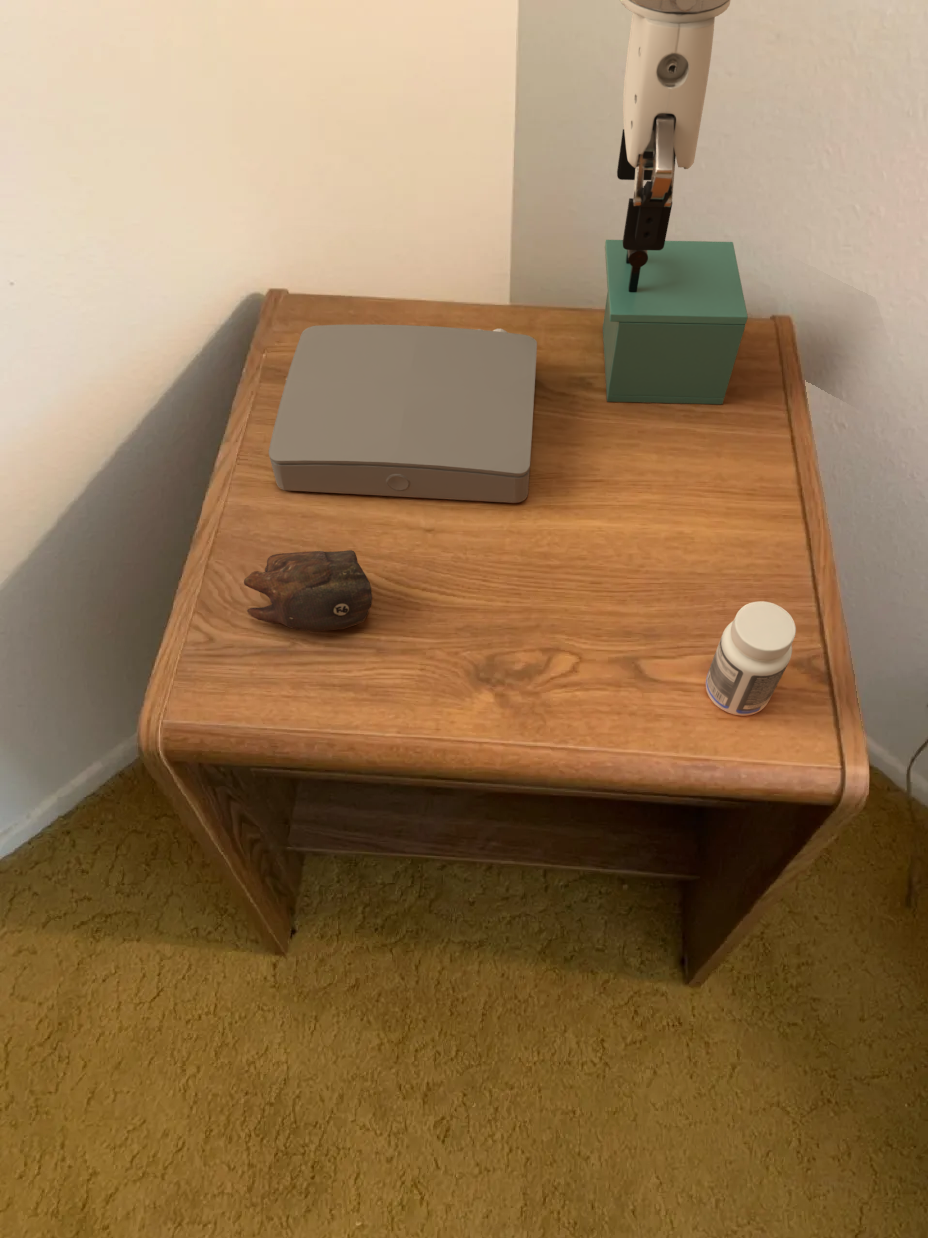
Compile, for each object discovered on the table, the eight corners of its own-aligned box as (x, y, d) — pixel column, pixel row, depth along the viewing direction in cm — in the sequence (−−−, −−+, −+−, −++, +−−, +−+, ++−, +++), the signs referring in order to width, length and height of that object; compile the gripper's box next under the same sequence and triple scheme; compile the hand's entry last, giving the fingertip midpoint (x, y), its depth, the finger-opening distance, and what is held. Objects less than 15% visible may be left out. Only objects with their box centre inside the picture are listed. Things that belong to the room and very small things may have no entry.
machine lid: (609, 321, 78) (616, 270, 74) (604, 246, 84) (611, 196, 80) (745, 324, 77) (760, 273, 73) (731, 249, 83) (744, 198, 79)
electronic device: (313, 346, 90) (305, 303, 86) (536, 357, 89) (538, 313, 85) (274, 493, 79) (263, 451, 75) (527, 507, 78) (530, 465, 74)
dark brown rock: (225, 587, 67) (358, 567, 66) (246, 548, 73) (370, 529, 71) (249, 656, 70) (378, 638, 69) (268, 614, 76) (387, 596, 74)
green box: (606, 401, 85) (618, 322, 78) (602, 327, 91) (613, 247, 84) (722, 404, 85) (745, 325, 77) (710, 329, 91) (731, 249, 83)
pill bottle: (774, 671, 69) (807, 606, 62) (764, 725, 66) (797, 663, 59) (710, 654, 69) (736, 588, 63) (698, 706, 67) (723, 643, 60)
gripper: (751, 35, 56) (694, 278, 70) (720, -80, 66) (676, 154, 80) (627, 33, 57) (596, 276, 71) (615, -81, 66) (589, 153, 80)
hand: (638, 211), depth 75 cm, fingers open, 9 cm apart
